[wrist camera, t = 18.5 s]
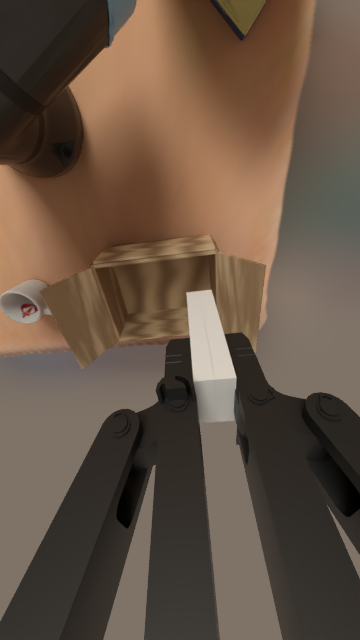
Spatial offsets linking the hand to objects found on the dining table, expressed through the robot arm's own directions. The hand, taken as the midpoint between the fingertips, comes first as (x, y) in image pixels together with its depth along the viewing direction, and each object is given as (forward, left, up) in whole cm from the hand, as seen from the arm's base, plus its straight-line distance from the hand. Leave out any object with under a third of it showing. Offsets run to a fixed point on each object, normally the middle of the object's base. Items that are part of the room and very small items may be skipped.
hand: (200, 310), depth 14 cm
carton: (-6, -13, -34) cm, 37 cm away
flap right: (+5, -13, -24) cm, 28 cm away
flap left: (-17, -13, -24) cm, 32 cm away
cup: (-34, -13, -35) cm, 50 cm away
